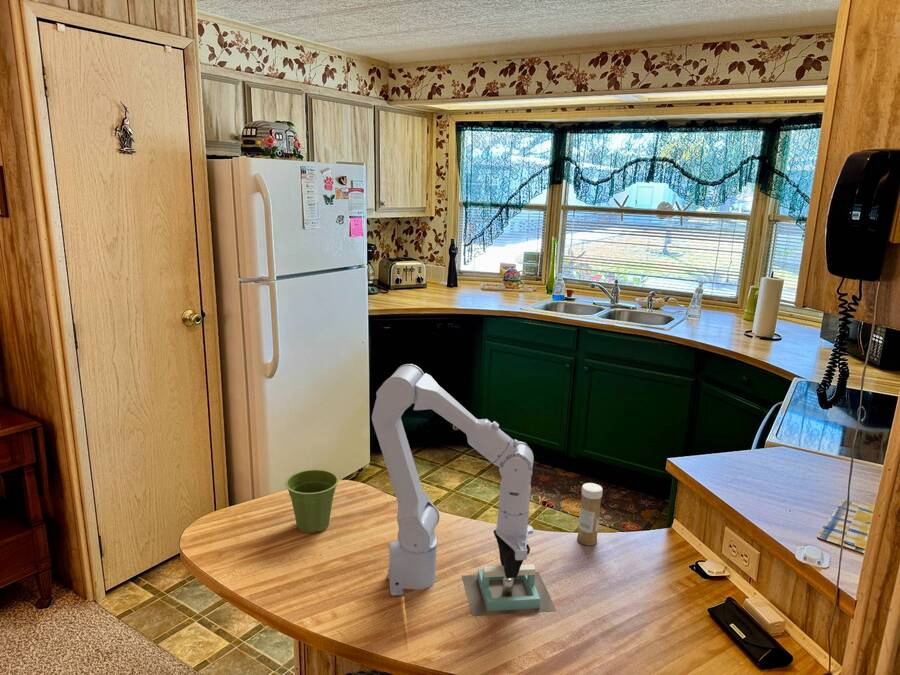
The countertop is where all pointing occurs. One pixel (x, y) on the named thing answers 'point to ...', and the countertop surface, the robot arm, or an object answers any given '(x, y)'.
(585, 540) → the sprinkles bottle
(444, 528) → the countertop surface
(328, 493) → the plant pot
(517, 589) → the post stand
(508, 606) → the teal square frame
